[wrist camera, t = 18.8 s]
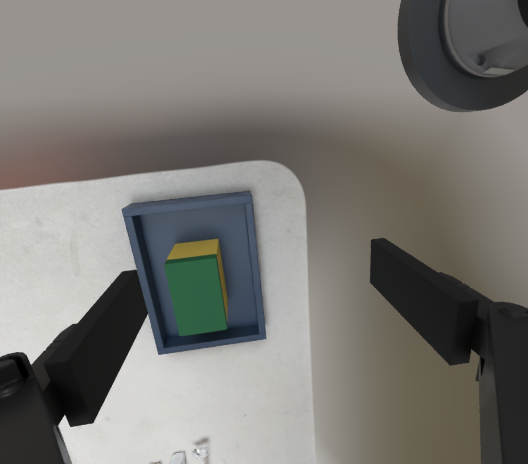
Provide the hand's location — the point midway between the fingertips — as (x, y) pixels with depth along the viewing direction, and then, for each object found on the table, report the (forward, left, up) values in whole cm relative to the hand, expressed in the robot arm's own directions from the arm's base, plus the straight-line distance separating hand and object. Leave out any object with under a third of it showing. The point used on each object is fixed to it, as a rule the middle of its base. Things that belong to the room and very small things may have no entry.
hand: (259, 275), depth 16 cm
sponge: (+10, +8, -24) cm, 27 cm away
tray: (+9, +8, -24) cm, 27 cm away
